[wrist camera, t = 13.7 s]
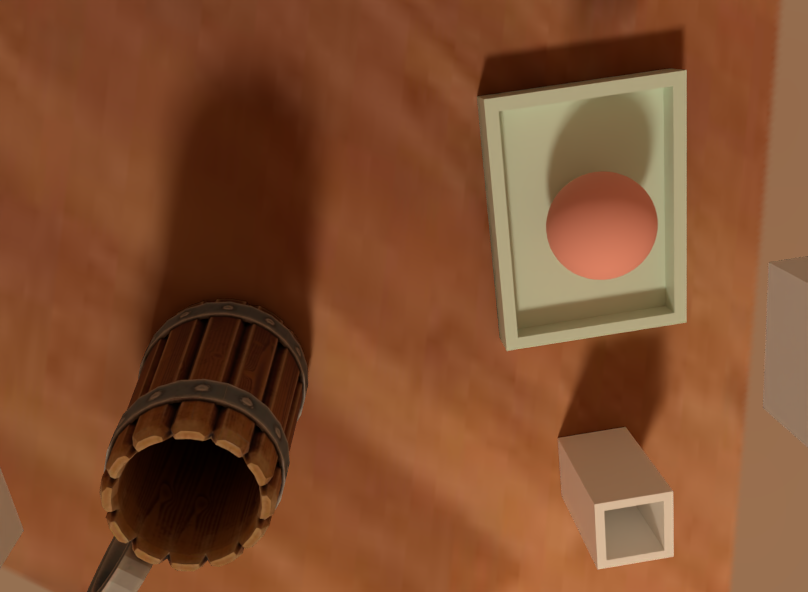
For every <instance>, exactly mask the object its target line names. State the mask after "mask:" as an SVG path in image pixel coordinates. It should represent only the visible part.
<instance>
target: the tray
mask: <svg viewBox="0 0 808 592" xmlns="http://www.w3.org/2000/svg"><path fill="white" fill-rule="evenodd" d="M477 102H478V113H479V124H480V134H481V145H482V155H483V166H484V176H485V187H486V198H487V208H488V219H489V229H490V240H491V251H492V261H493V272H494V282H495V293H496V303H497V314H498V325H499V335H500V339H501V341H502V343H503V345H504V347H505V348H506V350H507V351H509V350H515V349H522V348H528V347H534V346H541V345H547V344H553V343H560V342H566V341H572V340H579V339H585V338H591V337H597V336H604V335H610V334H616V333H623V332H629V331H635V330H642V329H648V328H654V327H661V326H667V325H673V324H680V323H686V284H687V70H681V69H672V68H669V69H662V70H655V71H648V72H642V73H635V74H628V75H621V76H614V77H607V78H600V79H593V80H586V81H579V82H572V83H566V84H559V85H552V86H545V87H538V88H531V89H524V90H517V91H510V92H503V93H496V94H489V95H483V96H477ZM601 171H605V172H614V173H618V174H621V175H624V176H627V177H629V178H631V179H632V180H634V181H635V182H637V183H638V184H639V185H640V186H641V187H643V188H644V189H645V191H646V192H647V193H648V195H649V196H650V198H651V200H652V201H653V203H654V206H655V209H656V213H657V219H658V231H657V236H656V239H655V243H654V245H653V247H652V249H651V251H650V253H649V255H648V256H647V257H646V259H645V260H644V261H643V262H642V263H641V264H640V265H639V266H638V267H636V268H635V269H634V270H632V271H630V272H629V273H627V274H625V275H623V276H620V277H617V278H613V279H607V280H594V279H588V278H585V277H581V276H579V275H577V274H574V273H573V272H571V271H570V270H568V269H567V268H565V267H564V266H563V265H562V264H561V263H560V262H559V261H558V260H557V258H556V257H555V255H554V254H553V252H552V250H551V248H550V246H549V243H548V239H547V233H546V221H547V215H548V211H549V208H550V206H551V204H552V202H553V200H554V198H555V197H556V195H557V194H558V193H559V191H560V190H561V189H562V188H563V187H564V186H566V185H567V184H568V183H569V182H571V181H572V180H574V179H576V178H578V177H580V176H582V175H585V174H588V173H592V172H601Z"/></svg>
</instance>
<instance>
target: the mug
mask: <svg viewBox="0 0 808 592" xmlns="http://www.w3.org/2000/svg"><path fill="white" fill-rule="evenodd" d="M307 387H308V370H307V363H306V360H305V357H304V352H303V350H302V347H301V345H300V342H299V341H298V339H297V338H296V336H295V334H294V333H293V331H292V330H289V329H287V328H286V327H285V326H284V325H283V321H282V320H281V319H280V318H278V317H277V316H276V315H275V314H273V313H272V312H270V311H268V310H266V309H264V308H262V307H260V306H255V307H253V306H250V305H249V304H248V303H247V302H246V301H240V300H234V299H217V300H216V301H215V302H210V303H208V302H205V301H203V302H200V303H197V304H194V305H191V306H189V307H187V308H185V309H183V310H181V311H180V312H178V313H177V315H175V316H174V317H172V318H170V319H169V320H168V321H167V322H166V323H165V324H164V325H163V326H162V327H161V328H160V329H159V330H158V331H157V332H156V333H155V334H154V336H153V338H152V340H151V342H150V344H149V346H148V348H147V350H146V352H145V355H144V357H143V360H142V362H141V365H140V371H139V377H138V382H137V385H136V387H135V390H134V393H133V395H132V398H131V401H130V403H129V406H128V409H127V411H126V412H125V413H124V414H123V416H122V418H121V420H120V422H119V424H118V426H117V428H116V430H115V432H114V434H113V437H112V439H111V442H110V445H109V447H108V450H107V454H106V461H105V468H104V474H103V477H102V480H101V486H100V497H101V503H102V507H103V508H104V509H105V510H106V511H107V512H108V513H107V516H106V519H107V522H108V525H109V528H110V530H111V532H112V533H113V535H114V537H113V539H112V541H111V543H110V545H109V547H108V549H107V551H106V553H105V555H104V557H103V559H102V561H101V563H100V565H99V567H98V569H97V571H96V573H95V575H94V577H93V580H92V582H91V584H90V586H89V588H88V591H87V592H137V591H138V589H139V588H140V586H141V584H142V583H143V581H144V580H145V578H146V576H147V574H148V572H149V571H150V569H151V567H152V565H153V564H160V563H161V562H162V561H164V560H165V559H168V561H169V563H170V565H171V567H172V568H174V569H175V570H177V571H195V570H197V569H199V568H201V567H203V565H204V564H205V563H206V561H207V560H208V561H209V563H210V564H211V566H216V567H220V566H223V565H225V564H228V563H230V562H232V561H234V560H235V559H236V558H237V557H239V556H240V555H241V554H242V553H243V550H244V548H245V549H246V548H250V547H253V546H254V545H255V544H256V543H257V542H258V541H259V540H260V539H261V538H262V537H263V535H264V534H265V532H266V530H267V528H268V526H269V525H270V521H271V517H272V515H273V514H274V511H275V509H276V507H277V506H278V504H279V502H280V501H281V497H282V493H283V488H284V484H285V480H286V476H287V472H288V467H289V463H290V462H289V451H290V447H291V443H292V439H293V435H294V431H295V427H296V423H297V421H298V419H299V417H300V415H301V412H302V408H303V404H304V400H305V396H306V391H307Z"/></svg>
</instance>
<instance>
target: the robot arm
mask: <svg viewBox="0 0 808 592" xmlns="http://www.w3.org/2000/svg"><path fill="white" fill-rule="evenodd" d="M765 346H766V347H765V371H764V397H763V399H764V400H763V408H764V409H765V410H766V411H767V412H768V413H769V414H770V415H772V416H773V417H774V418H775V419H776V420H777V421H778V422H780V423H781V424H782V425H783V426H784V427H785V428H786V429H788V430H789V431H790V432H791V433H792V434H793V435H794V436H795V437H797V438H798V439H799V440H800V441H801V442H802V443H804V444H805V445H806V446H807V447H808V256H805V257H799V258H793V259H786V260H780V261H774V262H769V267H768V293H767V320H766V345H765ZM23 531H24V530H23V527H22V524H21V522H20V519H19V516H18V514H17V511H16V508H15V506H14V503H13V500H12V498H11V495H10V492H9V490H8V487H7V484H6V482H5V479H4V476H3V474H2V471H1V468H0V568H1V566H2V565H3V563H4V561H5V560H6V558H7V557H8V555H9V553H10V552H11V550H12V549H13V547H14V545H15V544H16V542H17V541H18V539H19V537H20V536H21V534H22V532H23Z"/></svg>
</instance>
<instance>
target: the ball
mask: <svg viewBox="0 0 808 592" xmlns="http://www.w3.org/2000/svg"><path fill="white" fill-rule="evenodd" d="M657 231H658V219H657V213H656V209H655V206H654V203H653V201H652V200H651V198H650V196H649V195H648V193H647V192H646V191H645V189H644V188H643V187H641V186H640V185H639V184H638V183H637V182H635V181H634V180H632V179H631V178H629V177H627V176H624V175H621V174H618V173H614V172H605V171H601V172H592V173H588V174H585V175H582V176H580V177H578V178H576V179H574V180H572V181H571V182H569V183H568V184H567V185H566V186H564V187H563V188H562V189H561V190H560V191H559V193H558V194H557V195H556V197H555V198H554V200H553V202H552V204H551V206H550V208H549V211H548V215H547V221H546V233H547V239H548V243H549V246H550V248H551V250H552V252H553V254H554V255H555V257H556V258H557V260H558V261H559V262H560V263H561V264H562V265H563V266H564V267H565V268H567V269H568V270H570V271H571V272H573V273H574V274H577V275H579V276H581V277H585V278H588V279H594V280H607V279H613V278H617V277H620V276H623V275H625V274H627V273H629V272H630V271H632V270H634V269H635V268H636V267H638V266H639V265H640V264H641V263H642V262H643V261H644V260H645V259H646V257H647V256H648V255H649V253H650V251H651V249H652V247H653V245H654V243H655V239H656V236H657Z"/></svg>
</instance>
